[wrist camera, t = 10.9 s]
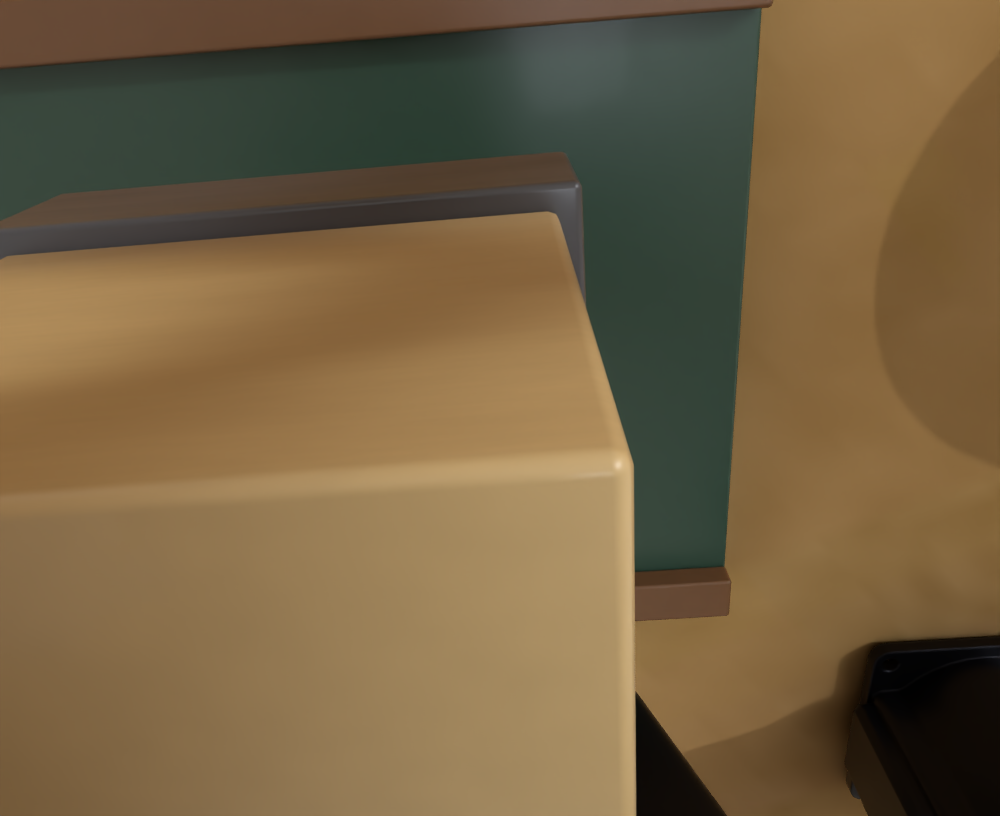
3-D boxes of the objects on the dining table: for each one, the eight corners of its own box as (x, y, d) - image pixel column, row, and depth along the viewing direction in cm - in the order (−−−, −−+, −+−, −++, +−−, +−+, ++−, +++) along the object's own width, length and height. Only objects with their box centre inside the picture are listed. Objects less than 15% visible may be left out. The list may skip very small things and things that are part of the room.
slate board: (752, -61, 16) (779, -67, 15) (714, 576, 23) (729, 616, 22) (-316, 28, 17) (-398, 30, 15) (-31, 621, 24) (-66, 664, 22)
